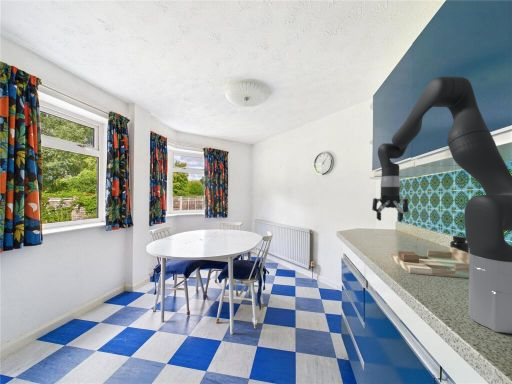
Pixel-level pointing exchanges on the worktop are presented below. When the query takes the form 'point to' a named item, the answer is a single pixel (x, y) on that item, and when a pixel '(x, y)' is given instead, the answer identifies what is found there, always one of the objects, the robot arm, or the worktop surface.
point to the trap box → (439, 263)
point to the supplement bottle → (460, 243)
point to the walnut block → (408, 256)
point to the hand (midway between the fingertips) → (389, 220)
